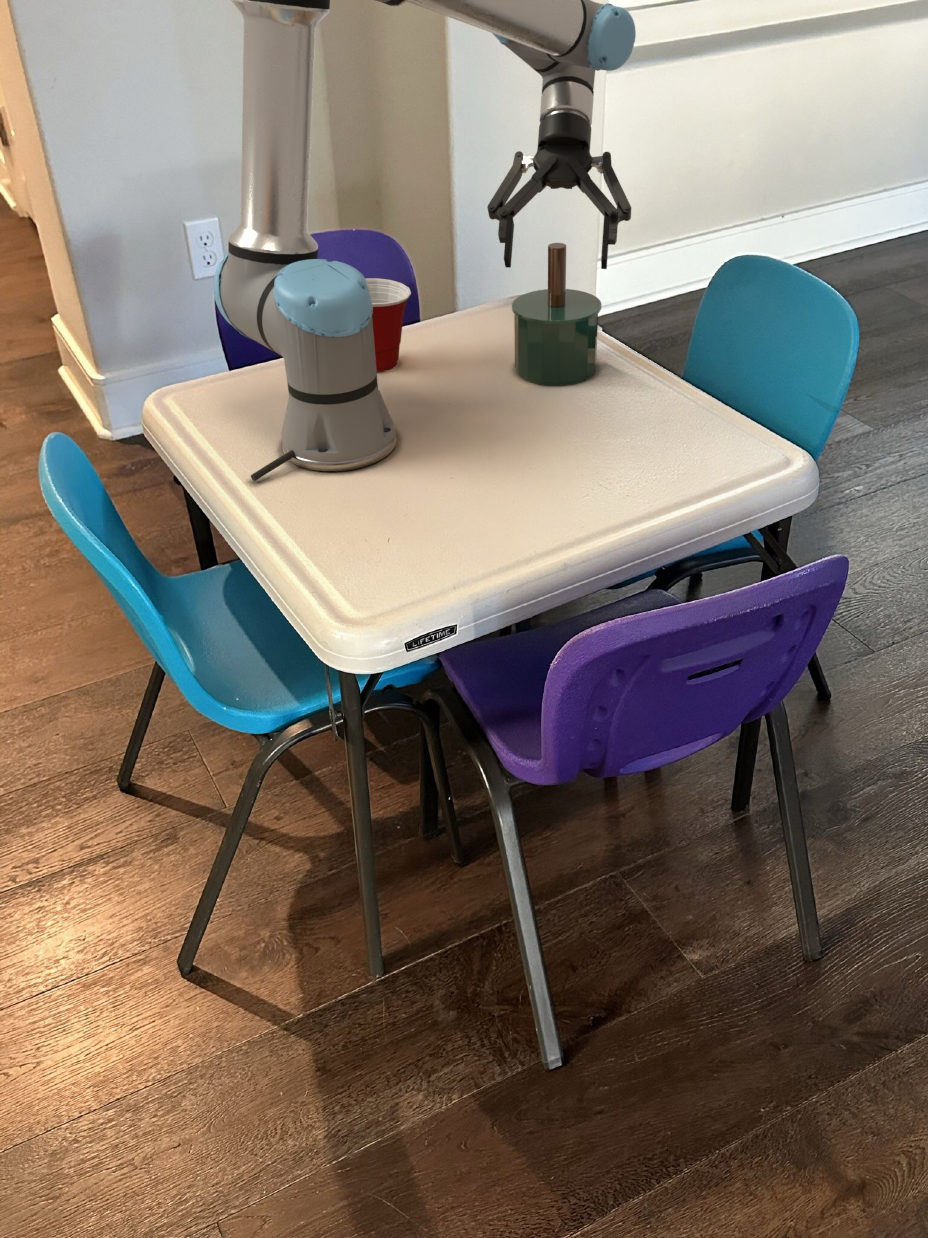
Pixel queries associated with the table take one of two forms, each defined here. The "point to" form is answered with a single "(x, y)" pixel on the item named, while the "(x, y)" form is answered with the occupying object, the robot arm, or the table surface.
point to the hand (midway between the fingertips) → (555, 263)
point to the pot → (555, 351)
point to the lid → (556, 296)
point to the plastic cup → (387, 319)
